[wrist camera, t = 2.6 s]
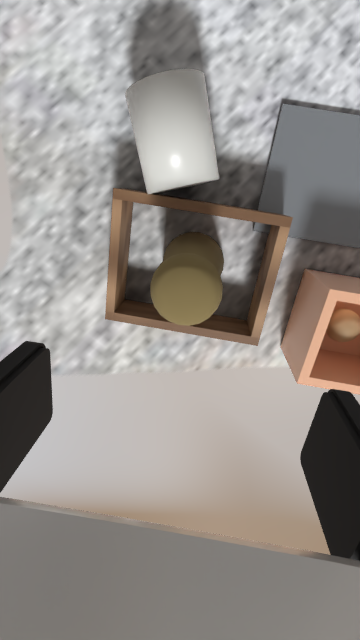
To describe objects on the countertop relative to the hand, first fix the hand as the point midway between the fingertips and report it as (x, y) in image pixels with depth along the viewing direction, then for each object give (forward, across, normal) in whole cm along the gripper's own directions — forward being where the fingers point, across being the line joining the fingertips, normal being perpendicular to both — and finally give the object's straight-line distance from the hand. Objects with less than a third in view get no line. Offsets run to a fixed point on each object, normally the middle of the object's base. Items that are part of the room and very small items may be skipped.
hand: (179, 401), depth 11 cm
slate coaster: (+22, -10, -9) cm, 26 cm away
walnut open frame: (+22, +1, 0) cm, 22 cm away
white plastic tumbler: (+22, +4, -10) cm, 25 cm away
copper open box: (+22, -14, +4) cm, 26 cm away
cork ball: (+20, -14, +4) cm, 25 cm away
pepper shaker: (+22, +1, 0) cm, 22 cm away
